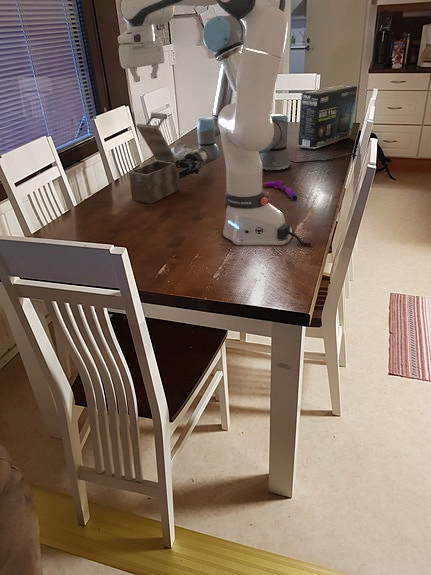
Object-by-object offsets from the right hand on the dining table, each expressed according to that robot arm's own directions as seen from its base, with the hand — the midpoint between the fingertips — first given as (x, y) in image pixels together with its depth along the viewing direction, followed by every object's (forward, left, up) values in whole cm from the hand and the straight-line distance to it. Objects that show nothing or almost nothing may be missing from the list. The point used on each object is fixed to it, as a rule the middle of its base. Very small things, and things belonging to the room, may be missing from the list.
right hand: (166, 173), depth 186 cm
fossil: (-26, -39, -7) cm, 47 cm away
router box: (-102, -14, -7) cm, 103 cm away
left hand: (+6, +2, +35) cm, 36 cm away
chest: (+7, +3, -7) cm, 10 cm away
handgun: (-34, +31, -7) cm, 47 cm away
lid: (+4, +2, +12) cm, 13 cm away
